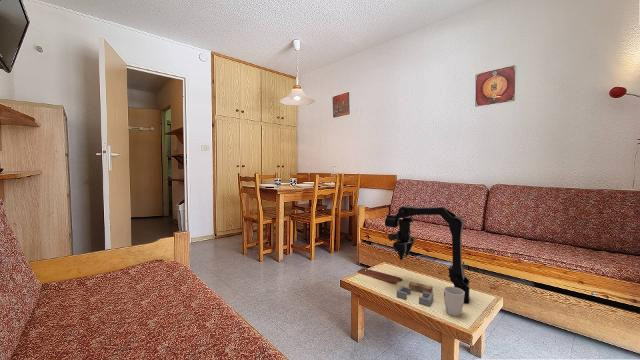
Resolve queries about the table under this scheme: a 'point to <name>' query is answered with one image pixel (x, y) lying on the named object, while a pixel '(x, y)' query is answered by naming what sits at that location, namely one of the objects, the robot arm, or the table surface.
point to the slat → (420, 287)
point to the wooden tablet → (380, 276)
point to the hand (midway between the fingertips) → (403, 257)
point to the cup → (453, 300)
